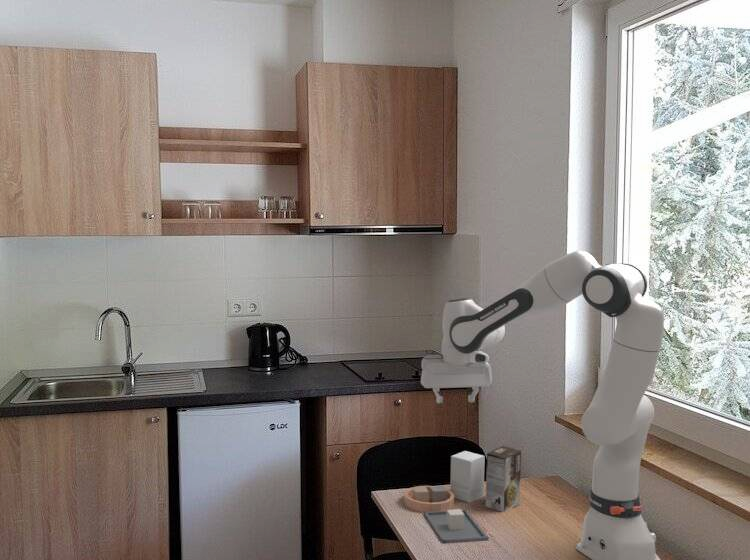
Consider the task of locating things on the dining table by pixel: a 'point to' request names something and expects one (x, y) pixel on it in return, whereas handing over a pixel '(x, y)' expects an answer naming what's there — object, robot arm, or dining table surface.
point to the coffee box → (503, 478)
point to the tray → (461, 535)
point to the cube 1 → (420, 494)
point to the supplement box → (467, 476)
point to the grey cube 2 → (437, 494)
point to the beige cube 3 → (455, 519)
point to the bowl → (428, 505)
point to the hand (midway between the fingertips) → (455, 402)
